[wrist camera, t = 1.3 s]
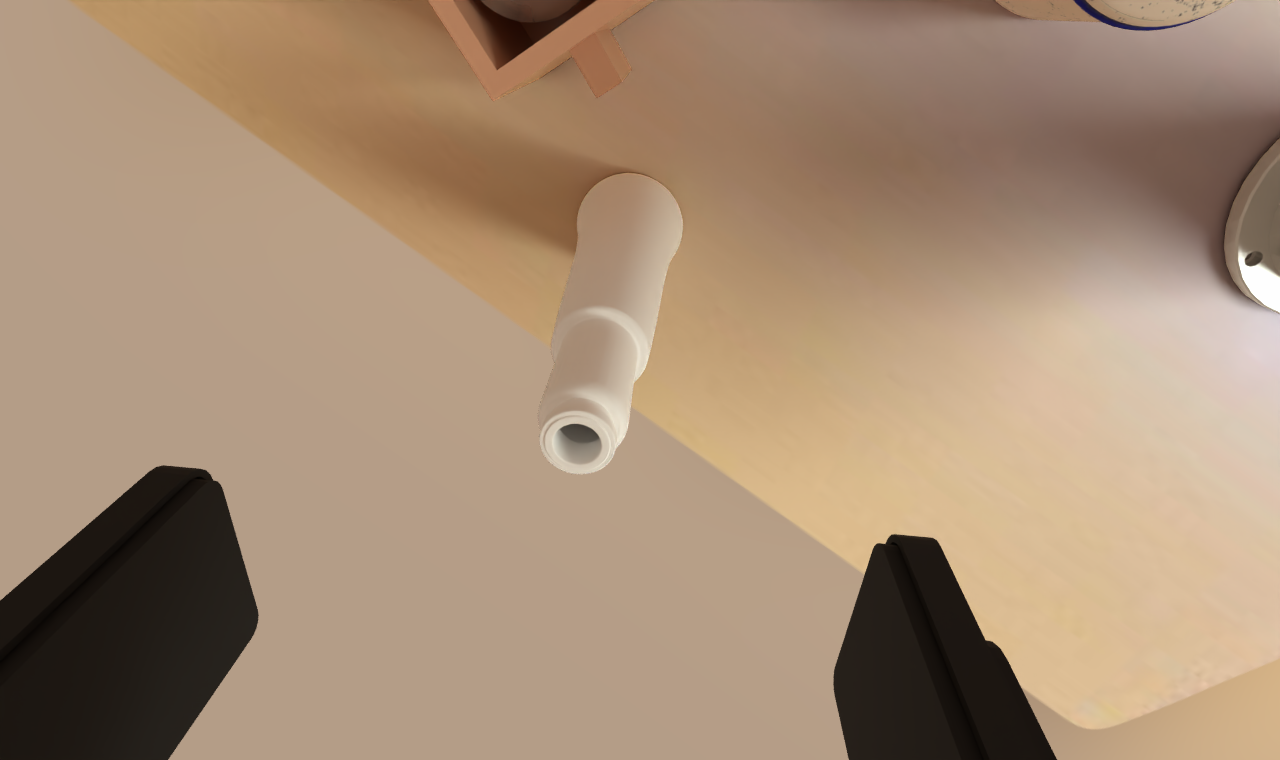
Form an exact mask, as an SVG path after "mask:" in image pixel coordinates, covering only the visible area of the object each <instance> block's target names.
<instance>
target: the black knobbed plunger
mask: <svg viewBox="0 0 1280 760" xmlns="http://www.w3.org/2000/svg"><path fill="white" fill-rule="evenodd" d="M481 1H482V2H483V3H484V4H485V5H486V6H487V7H489V8H490V9H492V10H493V11H494V12H496V13H498V14H500V15H502V16H504V17H506V18H509V19H512V20H516V21H520V22H543V21H548V20H552V19H555V18H558V17H560V16H562V15H564V14H566V13H567V12H569V11H570V10H572V9H573V8H574V7H575V6H577V5H578V4H579V3H580V1H581V0H481Z"/></svg>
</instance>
